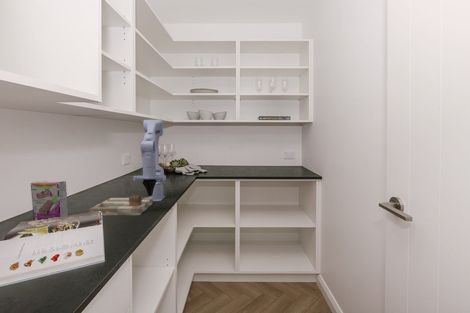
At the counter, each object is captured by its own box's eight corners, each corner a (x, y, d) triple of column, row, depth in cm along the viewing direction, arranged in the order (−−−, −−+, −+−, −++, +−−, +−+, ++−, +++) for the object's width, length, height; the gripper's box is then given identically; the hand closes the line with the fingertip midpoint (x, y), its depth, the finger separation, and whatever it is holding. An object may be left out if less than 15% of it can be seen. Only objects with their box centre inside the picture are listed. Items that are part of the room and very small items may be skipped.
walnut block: (133, 203, 110) (132, 195, 110) (141, 203, 110) (141, 195, 110) (129, 206, 106) (129, 197, 106) (138, 206, 106) (137, 197, 106)
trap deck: (110, 203, 121) (110, 197, 120) (153, 203, 121) (152, 197, 121) (89, 215, 103) (89, 209, 102) (140, 215, 103) (139, 208, 103)
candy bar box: (32, 222, 95) (29, 183, 93) (42, 218, 100) (39, 180, 98) (60, 222, 95) (57, 182, 94) (69, 217, 100) (66, 180, 99)
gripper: (129, 167, 103) (131, 197, 104) (162, 167, 103) (163, 197, 104) (136, 165, 110) (137, 194, 111) (166, 165, 110) (167, 193, 111)
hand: (150, 195), depth 108 cm, fingers closed
